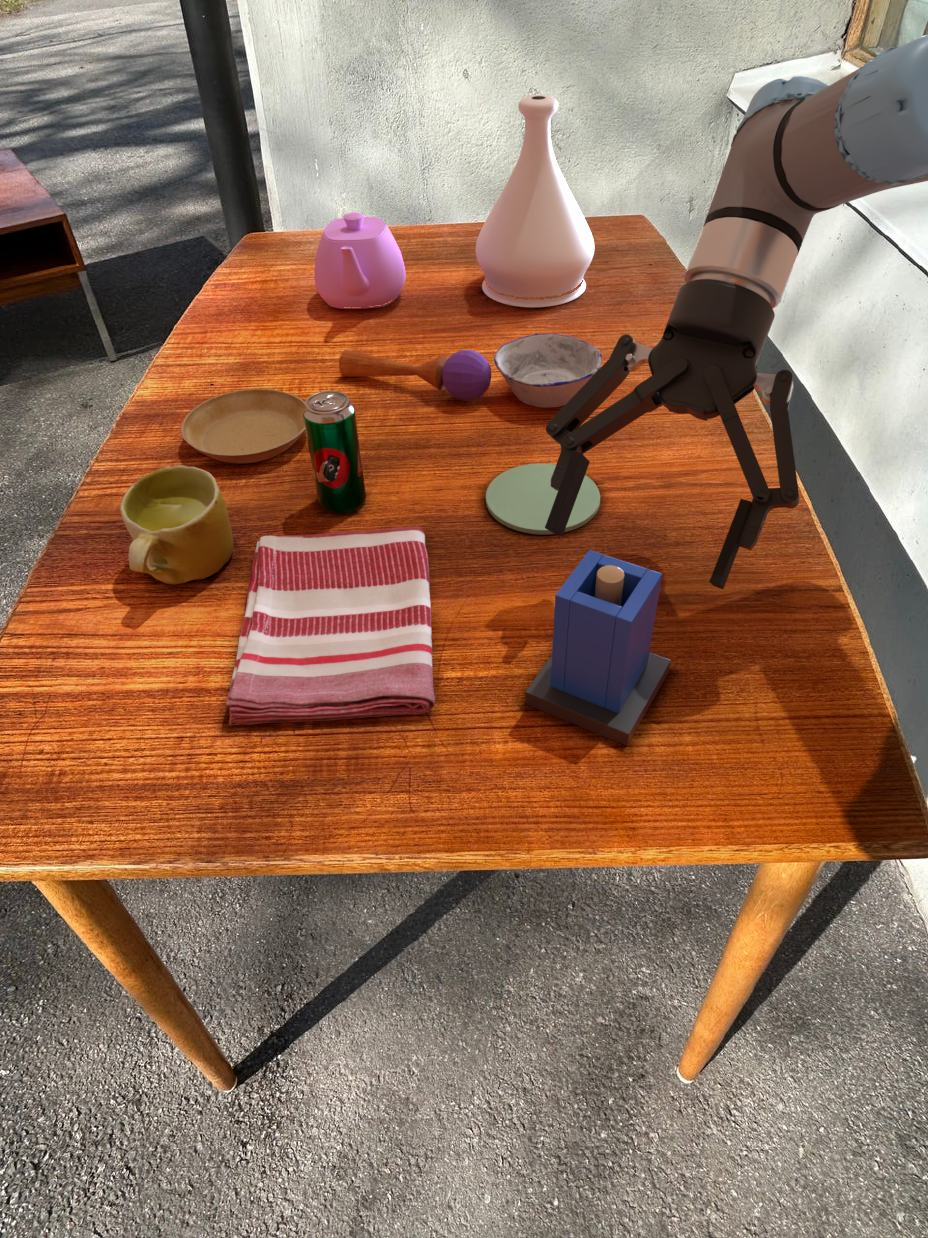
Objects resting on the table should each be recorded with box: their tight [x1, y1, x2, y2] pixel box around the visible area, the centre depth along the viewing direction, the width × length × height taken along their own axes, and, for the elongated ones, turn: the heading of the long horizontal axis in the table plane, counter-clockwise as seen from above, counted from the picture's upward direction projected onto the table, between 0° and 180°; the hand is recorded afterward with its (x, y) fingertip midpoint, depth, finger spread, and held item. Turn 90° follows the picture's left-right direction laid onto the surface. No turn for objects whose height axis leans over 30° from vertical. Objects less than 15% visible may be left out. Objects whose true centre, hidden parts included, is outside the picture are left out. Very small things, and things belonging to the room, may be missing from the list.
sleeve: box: [550, 549, 663, 713], centre depth 68 cm, size 6×6×10 cm
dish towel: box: [224, 526, 436, 727], centre depth 78 cm, size 17×23×3 cm
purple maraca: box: [338, 349, 492, 402], centre depth 108 cm, size 6×6×20 cm
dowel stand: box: [524, 565, 672, 747], centre depth 68 cm, size 9×9×12 cm
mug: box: [119, 464, 235, 585], centre depth 83 cm, size 12×10×10 cm
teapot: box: [313, 211, 407, 310], centre depth 125 cm, size 20×13×12 cm, turn 0°
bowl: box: [493, 333, 603, 409], centre depth 106 cm, size 13×13×5 cm
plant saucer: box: [180, 388, 306, 464], centre depth 101 cm, size 15×15×3 cm
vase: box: [474, 94, 595, 308], centre depth 123 cm, size 17×17×25 cm
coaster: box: [485, 462, 601, 536], centre depth 91 cm, size 12×12×1 cm
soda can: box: [303, 390, 367, 515], centre depth 88 cm, size 5×5×12 cm
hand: (631, 558), depth 68 cm, fingers open, 13 cm apart
